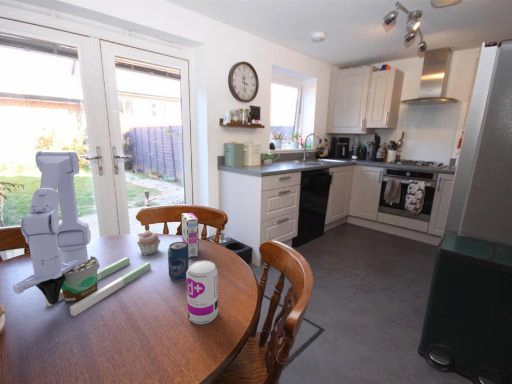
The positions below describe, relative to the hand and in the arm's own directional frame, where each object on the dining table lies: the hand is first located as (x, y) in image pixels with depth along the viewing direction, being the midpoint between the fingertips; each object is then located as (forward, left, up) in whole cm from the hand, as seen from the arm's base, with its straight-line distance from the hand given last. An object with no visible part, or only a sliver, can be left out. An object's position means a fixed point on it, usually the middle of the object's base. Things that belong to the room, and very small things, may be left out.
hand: (53, 302), depth 69 cm
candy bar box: (+11, +47, -4) cm, 49 cm away
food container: (0, +9, -4) cm, 10 cm away
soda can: (+19, +29, -4) cm, 35 cm away
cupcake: (-5, +40, -4) cm, 41 cm away
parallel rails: (0, +15, -3) cm, 16 cm away
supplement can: (+38, +15, -4) cm, 41 cm away
